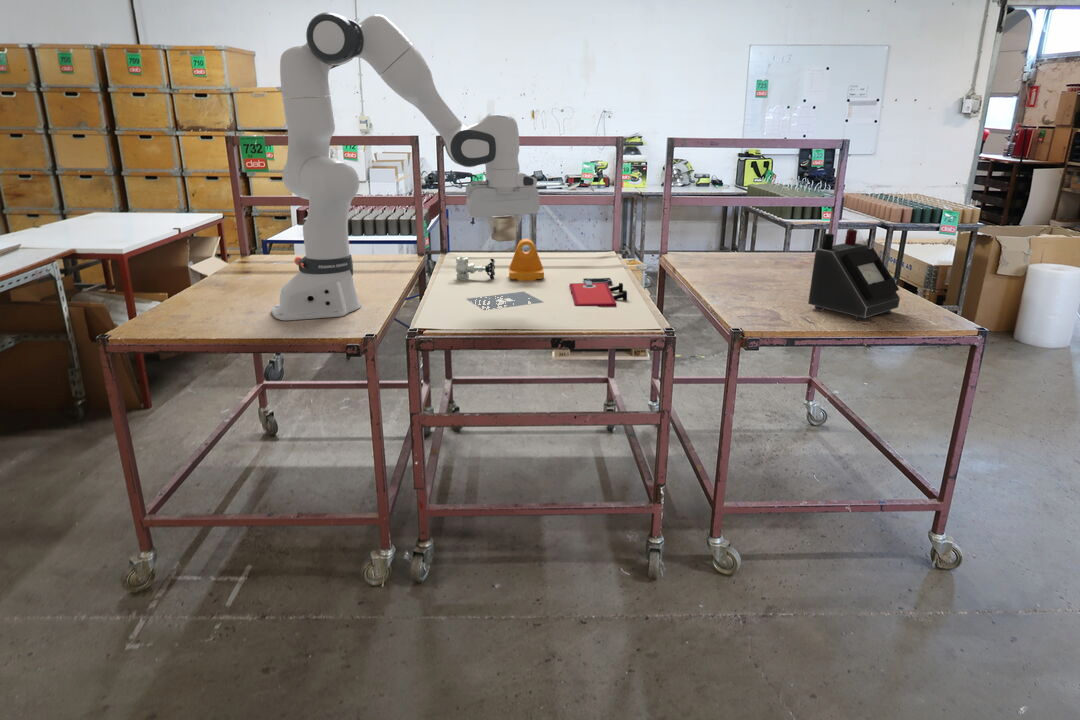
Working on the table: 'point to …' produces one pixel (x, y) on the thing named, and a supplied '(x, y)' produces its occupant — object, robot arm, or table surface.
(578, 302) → the red board with handle
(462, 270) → the valve
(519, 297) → the grey mat
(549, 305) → the table surface
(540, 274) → the bracket
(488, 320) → the table surface
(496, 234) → the maple block
